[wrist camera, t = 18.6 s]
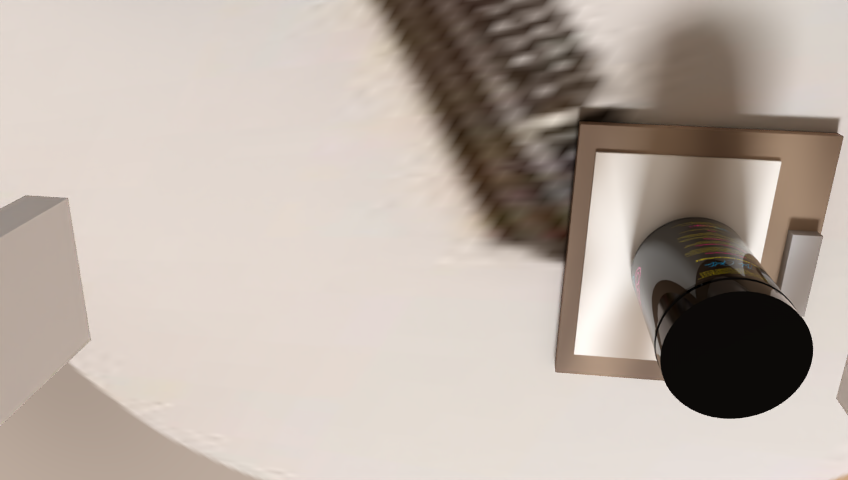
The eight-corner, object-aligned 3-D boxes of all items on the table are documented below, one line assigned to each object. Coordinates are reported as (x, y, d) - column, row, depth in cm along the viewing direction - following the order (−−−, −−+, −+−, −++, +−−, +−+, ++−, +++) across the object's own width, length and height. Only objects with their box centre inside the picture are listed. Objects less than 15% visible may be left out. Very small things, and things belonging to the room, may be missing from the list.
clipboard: (554, 365, 49) (556, 378, 47) (579, 121, 43) (581, 127, 41) (780, 382, 47) (788, 397, 46) (837, 133, 42) (849, 140, 40)
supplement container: (617, 227, 44) (646, 309, 34) (737, 198, 42) (803, 275, 33) (640, 327, 46) (674, 431, 36) (756, 303, 45) (822, 404, 35)
